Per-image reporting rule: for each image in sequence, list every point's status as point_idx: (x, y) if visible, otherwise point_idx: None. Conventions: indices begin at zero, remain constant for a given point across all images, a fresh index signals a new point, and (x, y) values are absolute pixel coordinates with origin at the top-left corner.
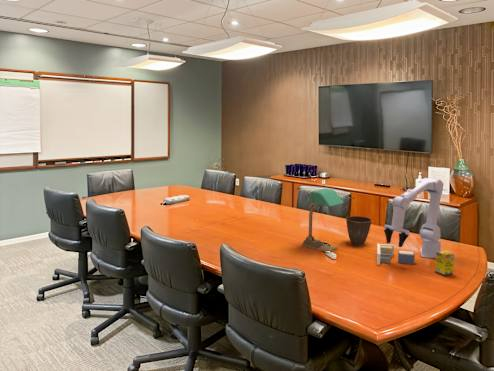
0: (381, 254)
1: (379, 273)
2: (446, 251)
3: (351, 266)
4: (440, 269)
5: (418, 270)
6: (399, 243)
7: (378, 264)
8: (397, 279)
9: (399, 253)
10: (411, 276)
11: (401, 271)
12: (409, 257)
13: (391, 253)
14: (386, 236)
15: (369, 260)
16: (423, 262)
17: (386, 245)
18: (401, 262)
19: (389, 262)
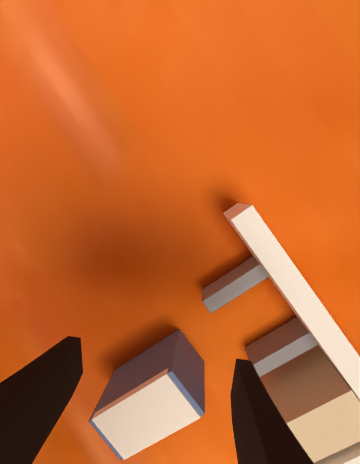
0: (298, 336)
1: (135, 83)
2: None
3: (333, 27)
4: None
5: (47, 304)
6: (42, 361)
7: (230, 208)
8: (20, 91)
9: (167, 371)
10: (11, 196)
11: (85, 220)
12: (122, 386)
13: None
14: (284, 443)
15: (318, 233)
16: None
17: (338, 459)
18: (164, 339)
19: (206, 288)
